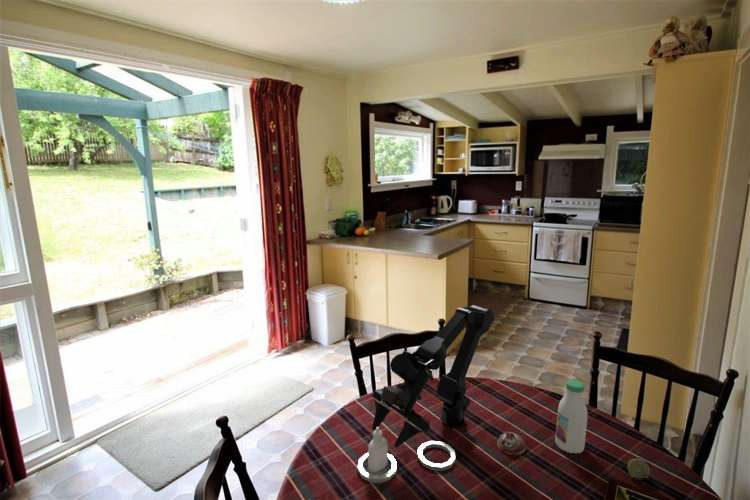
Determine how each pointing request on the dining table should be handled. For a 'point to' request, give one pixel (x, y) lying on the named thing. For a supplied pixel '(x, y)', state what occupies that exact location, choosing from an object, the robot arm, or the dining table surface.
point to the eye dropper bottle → (377, 452)
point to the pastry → (511, 444)
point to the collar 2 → (433, 465)
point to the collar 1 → (378, 476)
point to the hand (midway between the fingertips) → (384, 438)
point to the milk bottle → (572, 419)
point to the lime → (638, 468)
